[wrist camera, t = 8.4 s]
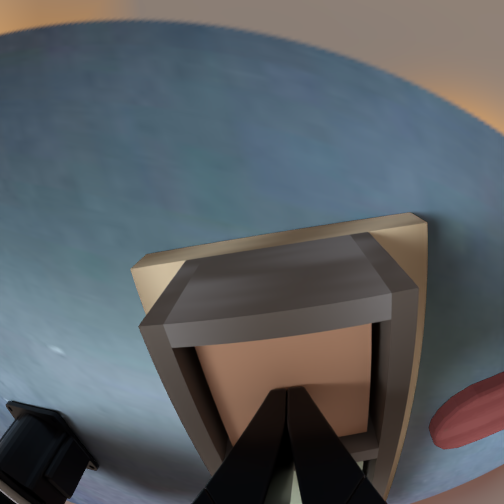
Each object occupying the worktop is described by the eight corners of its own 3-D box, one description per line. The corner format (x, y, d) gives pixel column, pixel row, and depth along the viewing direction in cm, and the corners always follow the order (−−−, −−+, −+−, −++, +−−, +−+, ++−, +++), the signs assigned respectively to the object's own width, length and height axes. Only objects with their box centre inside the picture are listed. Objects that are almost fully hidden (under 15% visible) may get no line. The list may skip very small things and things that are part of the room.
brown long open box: (251, 509, 18) (245, 566, 13) (146, 254, 12) (68, 329, 7) (379, 494, 17) (389, 551, 12) (410, 212, 10) (497, 269, 5)
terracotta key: (242, 383, 11) (232, 446, 8) (216, 288, 10) (194, 344, 7) (351, 369, 11) (366, 431, 8) (346, 269, 9) (371, 321, 6)
